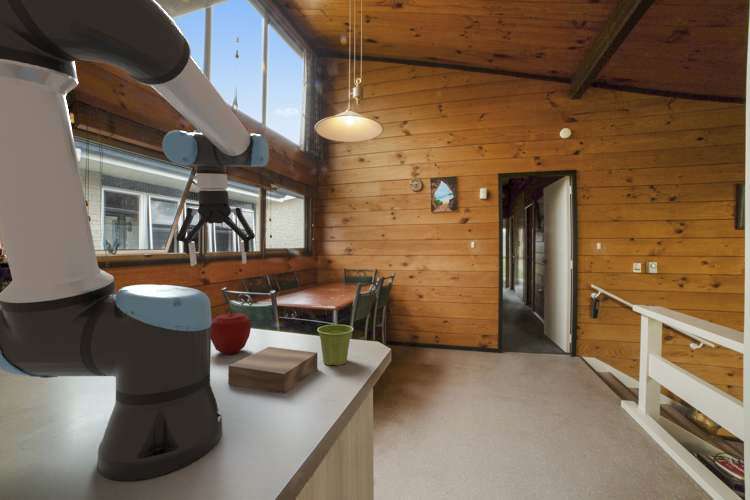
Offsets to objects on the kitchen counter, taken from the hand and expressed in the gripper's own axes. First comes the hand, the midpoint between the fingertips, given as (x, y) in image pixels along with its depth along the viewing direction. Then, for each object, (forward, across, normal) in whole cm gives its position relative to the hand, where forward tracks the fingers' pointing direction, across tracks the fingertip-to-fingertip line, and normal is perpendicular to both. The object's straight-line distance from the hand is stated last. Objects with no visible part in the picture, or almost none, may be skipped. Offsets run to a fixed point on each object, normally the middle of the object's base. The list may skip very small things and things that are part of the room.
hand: (219, 263), depth 92 cm
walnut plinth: (+20, -17, +28) cm, 39 cm away
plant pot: (+22, -31, +22) cm, 44 cm away
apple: (+24, -3, +9) cm, 26 cm away
